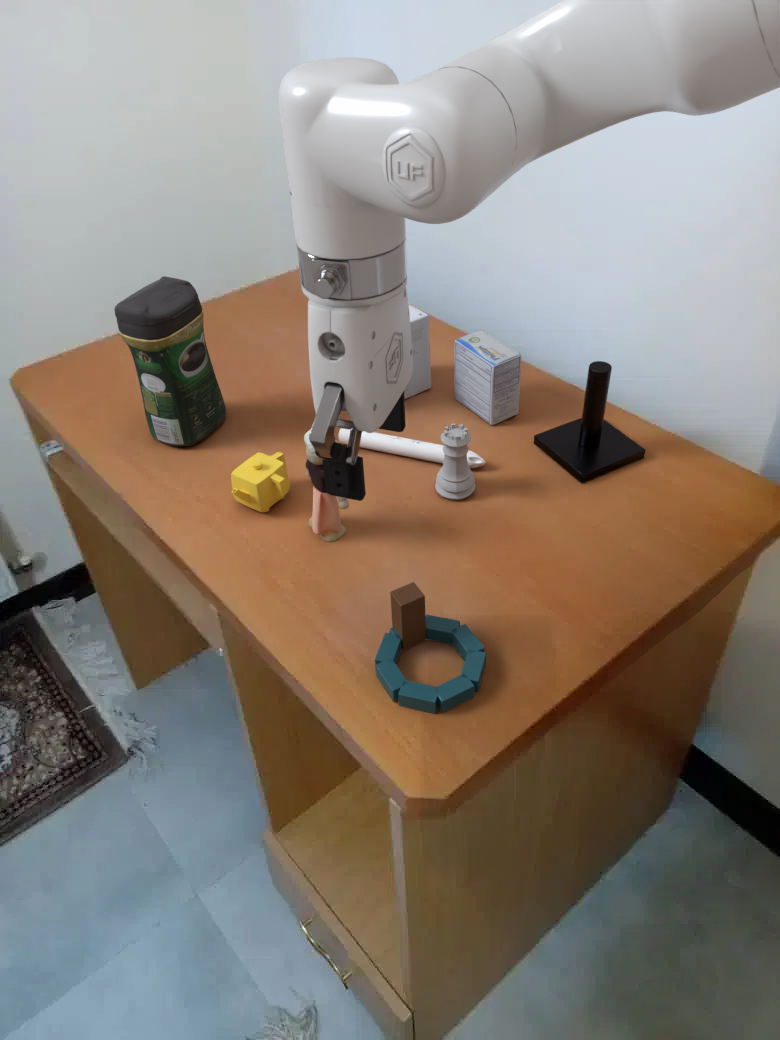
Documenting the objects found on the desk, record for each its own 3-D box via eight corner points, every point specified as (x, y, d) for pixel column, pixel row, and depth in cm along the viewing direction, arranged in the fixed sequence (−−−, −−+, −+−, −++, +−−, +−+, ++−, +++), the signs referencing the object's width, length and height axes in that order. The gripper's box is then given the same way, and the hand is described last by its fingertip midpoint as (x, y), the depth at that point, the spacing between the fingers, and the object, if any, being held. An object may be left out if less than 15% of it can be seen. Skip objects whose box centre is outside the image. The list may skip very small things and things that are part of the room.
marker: (488, 464, 91) (489, 448, 90) (483, 475, 90) (483, 458, 88) (345, 437, 97) (344, 421, 95) (338, 446, 95) (337, 430, 94)
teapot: (262, 531, 84) (254, 494, 81) (223, 512, 87) (214, 475, 83) (309, 491, 89) (304, 454, 86) (271, 474, 92) (264, 438, 88)
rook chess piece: (476, 501, 86) (478, 442, 81) (435, 502, 87) (435, 443, 81) (473, 476, 90) (475, 417, 84) (434, 477, 90) (434, 418, 85)
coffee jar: (189, 401, 104) (155, 266, 92) (237, 415, 101) (209, 277, 89) (139, 440, 98) (95, 300, 86) (189, 456, 95) (151, 313, 83)
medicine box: (519, 415, 98) (523, 353, 93) (490, 427, 97) (493, 365, 91) (480, 388, 104) (482, 328, 98) (453, 399, 102) (453, 338, 96)
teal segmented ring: (503, 682, 68) (507, 637, 64) (410, 728, 65) (408, 683, 61) (446, 612, 74) (446, 567, 70) (359, 651, 71) (354, 606, 67)
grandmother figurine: (292, 523, 85) (276, 425, 77) (319, 506, 87) (306, 409, 79) (340, 557, 81) (329, 457, 72) (367, 538, 83) (359, 438, 74)
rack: (644, 458, 91) (662, 373, 83) (581, 483, 88) (594, 397, 80) (593, 420, 97) (605, 338, 90) (533, 443, 94) (541, 360, 87)
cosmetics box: (403, 369, 108) (400, 297, 101) (432, 388, 104) (431, 315, 97) (339, 395, 104) (331, 322, 97) (366, 416, 100) (361, 342, 93)
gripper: (357, 328, 48) (373, 535, 59) (440, 223, 60) (440, 412, 71) (247, 313, 50) (283, 516, 61) (349, 214, 62) (363, 399, 74)
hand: (367, 460), depth 66 cm, fingers open, 9 cm apart
